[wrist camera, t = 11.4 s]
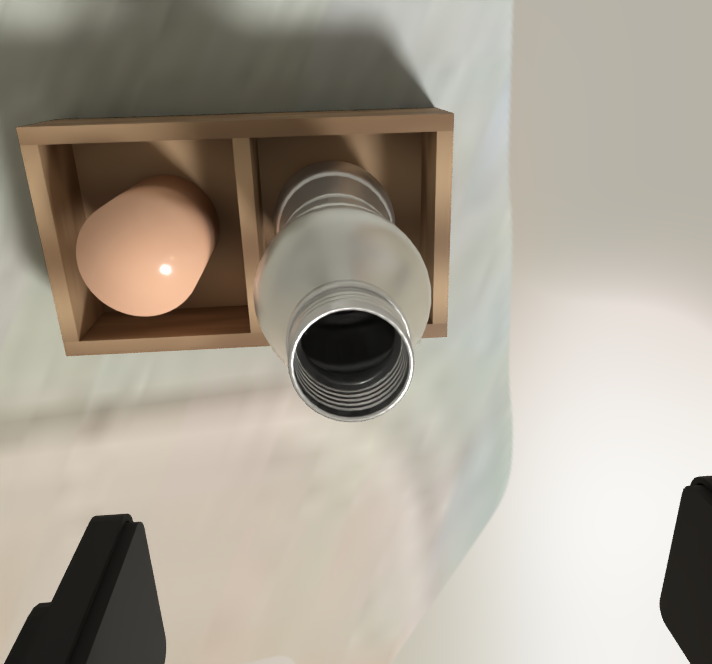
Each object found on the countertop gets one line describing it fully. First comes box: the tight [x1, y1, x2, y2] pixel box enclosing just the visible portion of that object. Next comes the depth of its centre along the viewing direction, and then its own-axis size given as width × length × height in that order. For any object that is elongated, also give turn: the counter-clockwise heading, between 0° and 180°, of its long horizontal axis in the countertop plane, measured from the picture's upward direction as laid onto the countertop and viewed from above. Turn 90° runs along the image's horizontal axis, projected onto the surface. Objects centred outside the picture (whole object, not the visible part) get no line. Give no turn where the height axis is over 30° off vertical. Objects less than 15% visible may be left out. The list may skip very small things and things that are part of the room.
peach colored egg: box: [76, 175, 220, 316], centre depth 33 cm, size 6×6×7 cm
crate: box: [16, 107, 454, 356], centre depth 34 cm, size 12×20×5 cm, turn 91°
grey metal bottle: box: [253, 161, 431, 422], centre depth 27 cm, size 6×7×20 cm
